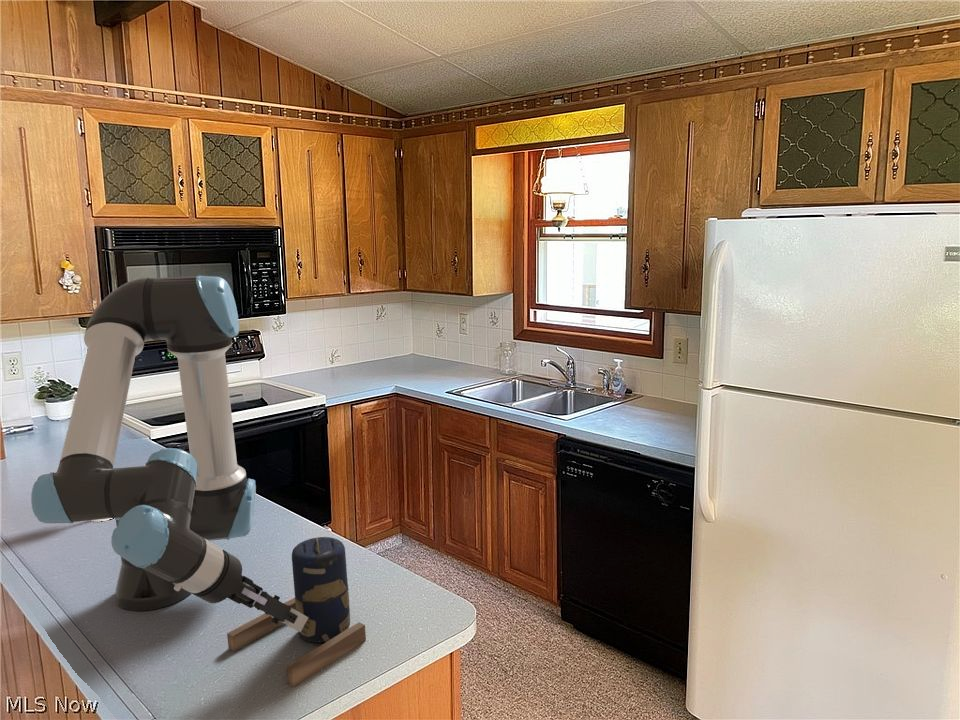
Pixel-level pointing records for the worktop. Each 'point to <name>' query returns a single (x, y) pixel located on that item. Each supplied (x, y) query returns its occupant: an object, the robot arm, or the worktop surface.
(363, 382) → the worktop surface
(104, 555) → the worktop surface
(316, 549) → the canister
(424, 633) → the worktop surface
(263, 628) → the walnut chute
